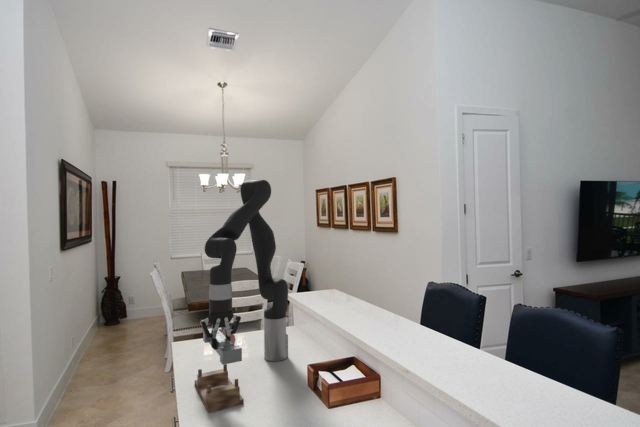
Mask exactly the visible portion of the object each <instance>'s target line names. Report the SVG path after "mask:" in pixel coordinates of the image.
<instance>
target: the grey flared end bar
mask: <svg viewBox="0 0 640 427" xmlns="http://www.w3.org/2000/svg"><path fill="white" fill-rule="evenodd" d="M208 330H209V333H211V331H212V327H211V328H208ZM222 332H223V329H222V327H220V328H218V332H217V335H216V339H217V349H216V350H214V351H215V352H216V353H217V355H219V362H220V363H221V365H224V364H227V365H228V364H229V365H230V364H234V363H237V362H242V361H243V347H241V346H240V345H239V344H238V345H235V344H233V343H231V342H230V341H229V340H228V339H227V338H226V337H225V336H224V335H223V334H222ZM202 341H203V342H204V343H205V344H206V343H208V344H210V346H211V338H207V336H206V335H205V333H204V331H202Z"/></svg>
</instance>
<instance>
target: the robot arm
mask: <svg viewBox="0 0 640 427" xmlns="http://www.w3.org/2000/svg"><path fill="white" fill-rule="evenodd" d="M271 195H272V186H271V184H270V182H269V181H268V180H267V179H266V180H265V179H254V180H253V179H252V180H245V181H243V182H242V183H241V185H240V198H241V201H242V204H243V205H241V206H240V207H238V208H236V209H235V210H234V211H232V213H231V214H230V215H229V217H228V218H227V219H226V220H225V222H224V224H223V225H222V227H220V228H219V229H217V230H216V231H215V232H214V233H213V234H212V235H211V236H210V237H209V238H208V239H207V241H206V242H205V245H204V254H205V255H206V256H207V257H208V258H210V259H221V260H220V263H219V264H217V265H213V266H211V268H210V269H209V288H208V290H209V291H208V296H209V297H208V300H209V301H208V311H209V312H208V316H207V317H206V318H204V319H200V320H199V324H200V325H201V328H202V330H203V331H204V333H205V335H206V336H207V338H211V345H210V347H211V348H212V349H213V350H214V351H215V350H216V349H217V339H216V335H217V332H218V328H223V330H224V329H225V334H226V335H225V337H226V338H227V339H228V340H229V341H230V337H231V335H232V334H234V335H235V334H236V332H237V330H238V328H239V325H240V323H241V318H242V316H240V315H239V314H234V313H233V287H232V286H233V285H232V271H233V266H234V263H235V257H236V255H237V249H238V247H237V243H236V241H237V240H239V238H240V237H241V235H242V234H243V232H244V231H245V229H246V227H247V226H248V228H249V232H250V238H251V243H252V247H253V254H254V257H255V263H256V270H257V280H258V289H259V293H260V296H261V297H262V298H263V299H264V300H268V301H272V305H271V307H268V308H266V309H264V312H263V335H264V336H263V338H264V339H263V343H264V344H263V346H264V347H263V349H264V351H263V352H264V354H263V355H264V356H263V357H264V360H266V361H267V362H279V361H283V360H285V359H287V358H289V335H288V334H287V312H288V311H287V310H288V307H289V306H288V302H289V299H288V298H289V286H288V283H287V280H286V279H285V280H284V278H283V279H282V278H276V277H273V275H272V268H271V265H272V262H273V259H274V257H275V254H276V250H277V245H276V238H275V234H274V231H273V230H272V228H271V227H270V225H269V223H268V222H266V220H265V219H264V218H263V216H262V214H261V213H260V210H261V209H262V208H263V207H264V206H265V205H266V203H267V202H268V201H269V200H270V198H271ZM231 321H233V323H232V325H231V327H230V323H231ZM209 323H210V324H211V325H212V326H211V328H212V331H211V333H209V330H208V329H209V328H208V325H209ZM203 331H202V332H203Z"/></svg>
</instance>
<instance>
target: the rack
mask: <svg viewBox="0 0 640 427" xmlns="http://www.w3.org/2000/svg"><path fill="white" fill-rule="evenodd" d="M197 373H198V374H197V375H196V376H197V379H196V380H194V386H195V388H196V390H197V393H198V394H199V396H200V399H201V401H202V403H203V404H204V407H205V409H206V411H207V413H208V414H210V413H214V412H218V411H221V410H225V409H229V408H232V407H236V406H241V405H244V402H245V401H244V397H243V396H242V395H241V389H240V385H239V378H234V383H232V381H231V379H230V378H229V371H228V364H224V365H223V368H221V369H216V370H211V371H206V372H203V369H201V368H200V369H198V370H197Z"/></svg>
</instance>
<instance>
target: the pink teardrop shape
mask: <svg viewBox="0 0 640 427" xmlns="http://www.w3.org/2000/svg"><path fill="white" fill-rule="evenodd" d="M222 334H223V335H224V336H225V335H226V334H225V329H224V328H223V329H222ZM230 342H231V343H233V344H234V345H235V343H236V336H235V334H232V335H231V337H230Z"/></svg>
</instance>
